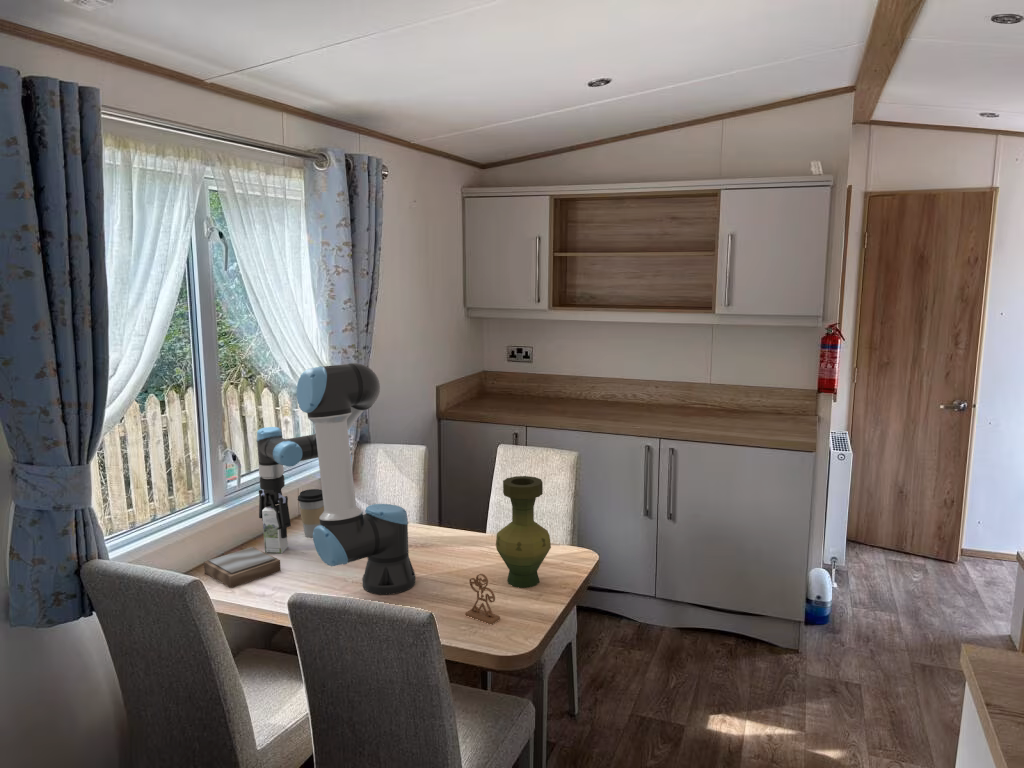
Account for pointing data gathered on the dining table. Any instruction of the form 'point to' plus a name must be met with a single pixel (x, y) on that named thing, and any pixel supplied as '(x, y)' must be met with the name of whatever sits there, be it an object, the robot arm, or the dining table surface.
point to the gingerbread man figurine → (475, 611)
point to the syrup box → (271, 531)
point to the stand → (242, 566)
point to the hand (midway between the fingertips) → (276, 543)
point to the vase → (523, 533)
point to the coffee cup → (311, 509)
